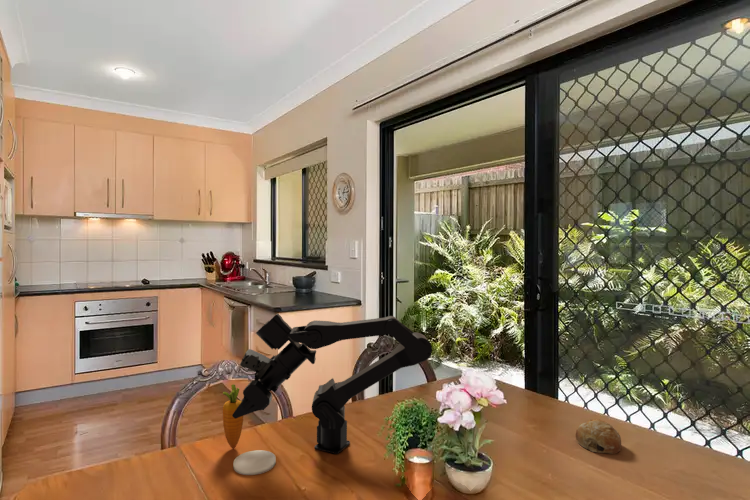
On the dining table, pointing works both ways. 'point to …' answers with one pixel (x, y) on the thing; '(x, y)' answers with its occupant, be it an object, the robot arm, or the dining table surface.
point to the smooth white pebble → (254, 462)
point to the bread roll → (598, 437)
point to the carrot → (232, 418)
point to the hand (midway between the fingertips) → (238, 409)
